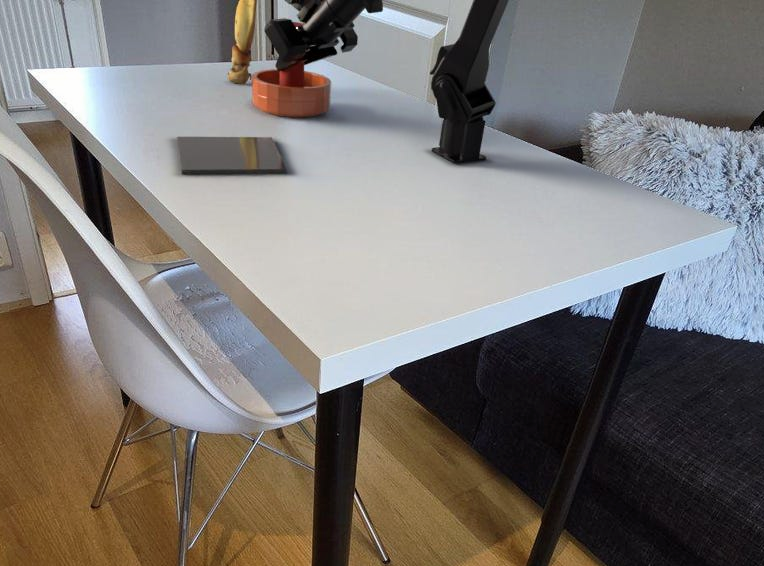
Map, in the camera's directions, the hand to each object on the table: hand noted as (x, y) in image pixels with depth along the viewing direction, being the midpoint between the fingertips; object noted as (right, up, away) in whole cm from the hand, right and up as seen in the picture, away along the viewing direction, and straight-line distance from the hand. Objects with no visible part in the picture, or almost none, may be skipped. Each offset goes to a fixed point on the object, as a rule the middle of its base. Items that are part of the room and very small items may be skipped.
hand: (285, 67), depth 115 cm
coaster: (-5, -22, -20) cm, 30 cm away
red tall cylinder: (+1, -5, +3) cm, 6 cm away
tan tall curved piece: (-10, +2, +14) cm, 17 cm away
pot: (+1, -6, +3) cm, 7 cm away
